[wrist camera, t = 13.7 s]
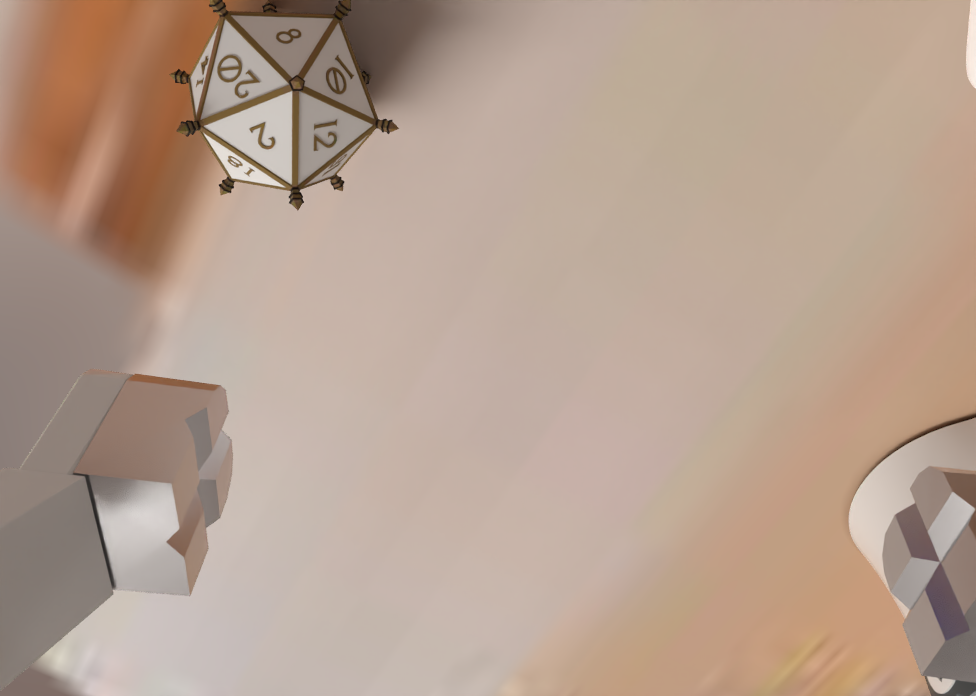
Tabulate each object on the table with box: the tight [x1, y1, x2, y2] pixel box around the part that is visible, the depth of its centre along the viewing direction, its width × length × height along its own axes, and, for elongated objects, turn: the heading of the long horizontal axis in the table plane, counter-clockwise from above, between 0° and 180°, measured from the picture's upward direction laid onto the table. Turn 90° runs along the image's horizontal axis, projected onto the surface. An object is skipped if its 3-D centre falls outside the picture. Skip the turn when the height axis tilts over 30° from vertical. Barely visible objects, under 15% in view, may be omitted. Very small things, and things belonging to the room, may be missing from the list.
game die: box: [169, 0, 399, 210], centre depth 37 cm, size 9×8×10 cm
